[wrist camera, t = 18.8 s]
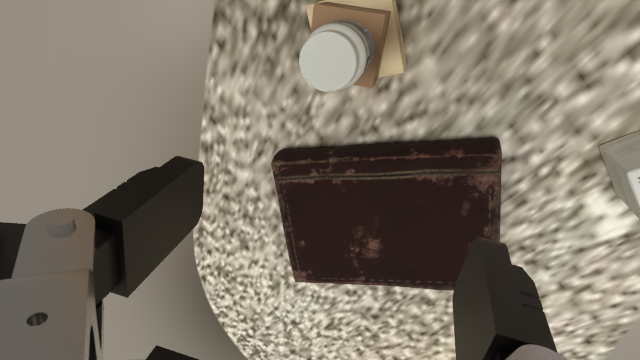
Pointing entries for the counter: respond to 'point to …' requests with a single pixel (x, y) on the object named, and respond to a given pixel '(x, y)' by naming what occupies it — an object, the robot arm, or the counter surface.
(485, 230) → the diary
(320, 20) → the walnut block
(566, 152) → the counter surface
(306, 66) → the pill bottle
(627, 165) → the skincare box
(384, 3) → the maple block
